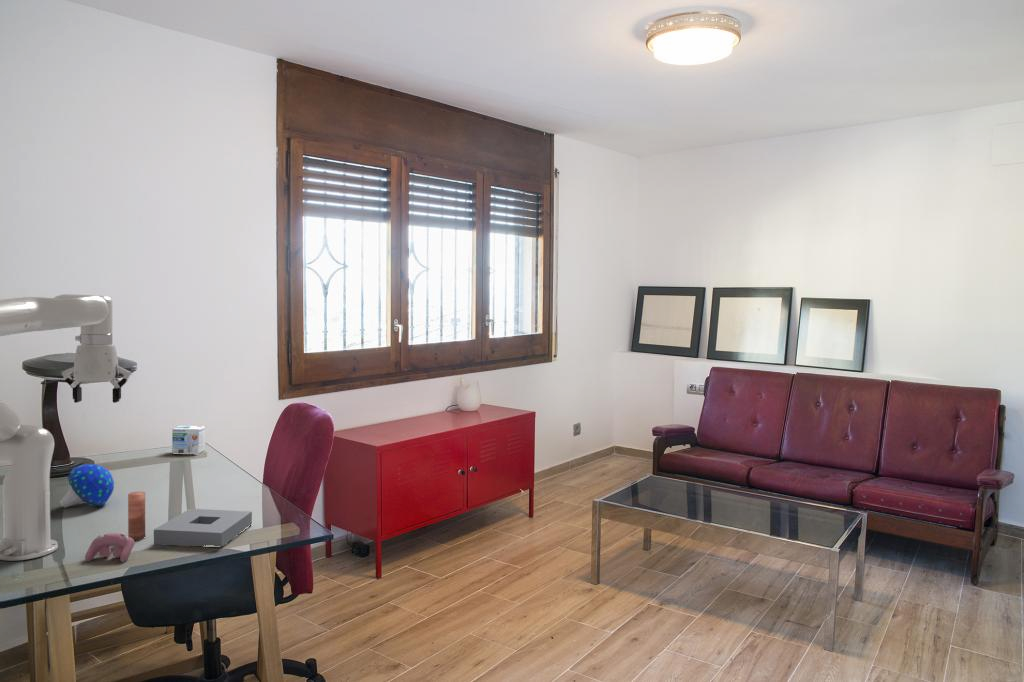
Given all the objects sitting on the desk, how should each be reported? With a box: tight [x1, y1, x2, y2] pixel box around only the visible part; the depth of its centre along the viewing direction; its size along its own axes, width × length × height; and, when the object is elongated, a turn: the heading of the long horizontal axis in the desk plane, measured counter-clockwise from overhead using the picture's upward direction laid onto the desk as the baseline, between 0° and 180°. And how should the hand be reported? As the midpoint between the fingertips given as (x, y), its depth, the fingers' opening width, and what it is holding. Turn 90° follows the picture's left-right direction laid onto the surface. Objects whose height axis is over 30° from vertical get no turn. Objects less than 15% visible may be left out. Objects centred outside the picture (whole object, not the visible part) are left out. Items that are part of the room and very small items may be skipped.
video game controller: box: [84, 532, 135, 563], centre depth 169 cm, size 10×5×7 cm, turn 92°
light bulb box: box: [171, 425, 206, 454], centre depth 279 cm, size 11×7×11 cm, turn 95°
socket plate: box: [153, 508, 253, 548], centre depth 187 cm, size 18×18×4 cm
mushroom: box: [59, 463, 115, 508], centre depth 208 cm, size 14×14×15 cm
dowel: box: [127, 491, 146, 541], centre depth 183 cm, size 4×4×12 cm
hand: (97, 401), depth 192 cm, fingers open, 9 cm apart
